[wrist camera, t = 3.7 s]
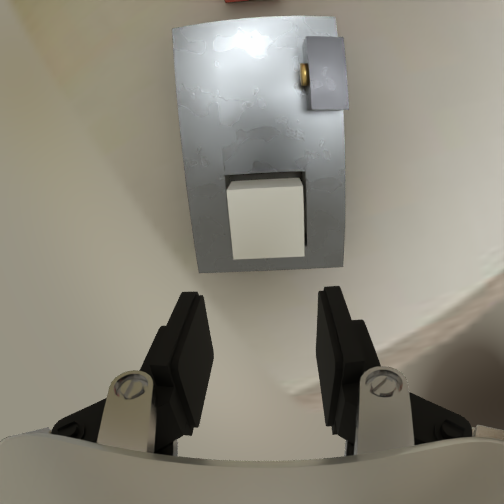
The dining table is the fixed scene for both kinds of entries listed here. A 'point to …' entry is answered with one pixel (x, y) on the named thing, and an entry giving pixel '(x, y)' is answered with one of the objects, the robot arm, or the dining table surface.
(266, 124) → the panel
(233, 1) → the red block
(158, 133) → the dining table surface
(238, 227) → the button
